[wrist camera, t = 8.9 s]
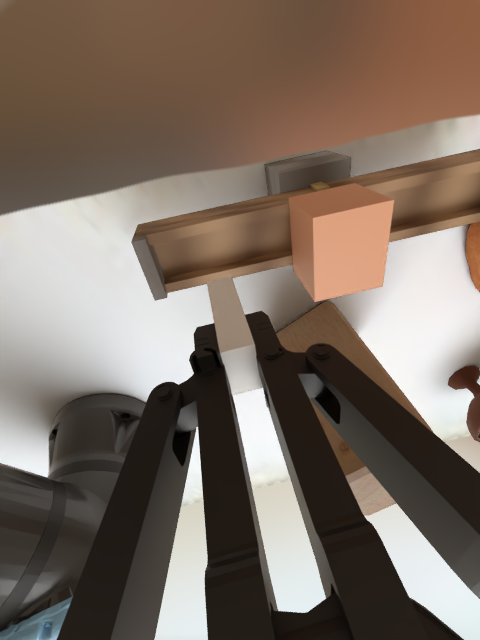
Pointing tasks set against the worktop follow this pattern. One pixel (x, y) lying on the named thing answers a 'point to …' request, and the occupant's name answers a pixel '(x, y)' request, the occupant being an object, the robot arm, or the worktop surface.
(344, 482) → the robot arm
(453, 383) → the ice cream bowl
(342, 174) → the beam
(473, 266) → the bread
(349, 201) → the block
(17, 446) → the worktop surface
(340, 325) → the wooden block
